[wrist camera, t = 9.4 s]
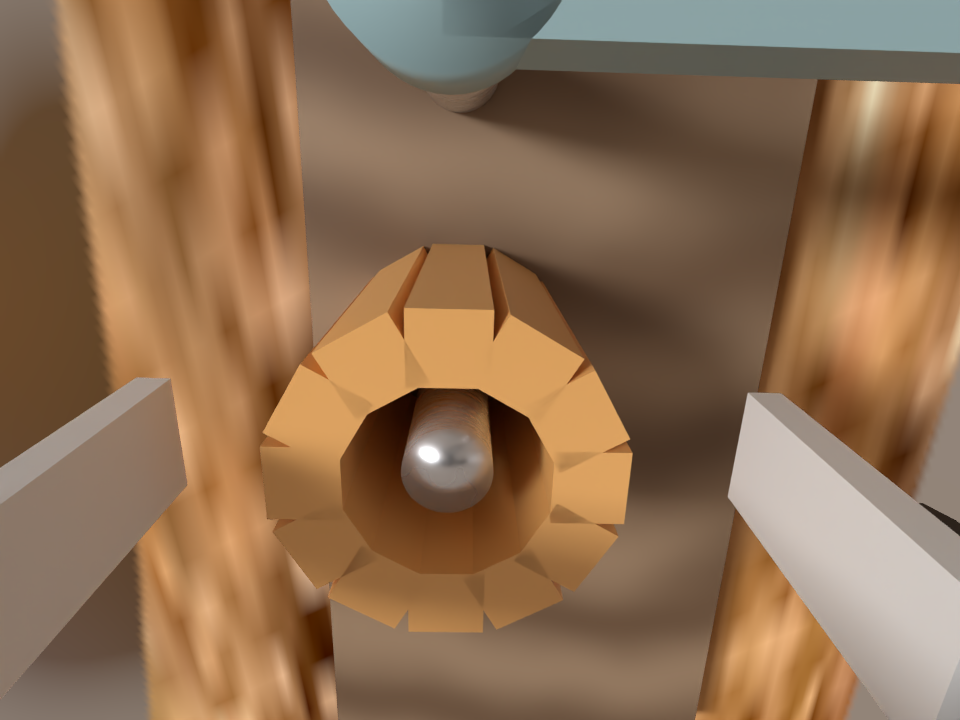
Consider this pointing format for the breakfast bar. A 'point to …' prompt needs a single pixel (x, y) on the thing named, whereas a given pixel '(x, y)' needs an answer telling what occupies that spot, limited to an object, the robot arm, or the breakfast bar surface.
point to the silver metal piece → (450, 417)
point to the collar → (384, 432)
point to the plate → (593, 320)
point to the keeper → (657, 38)
